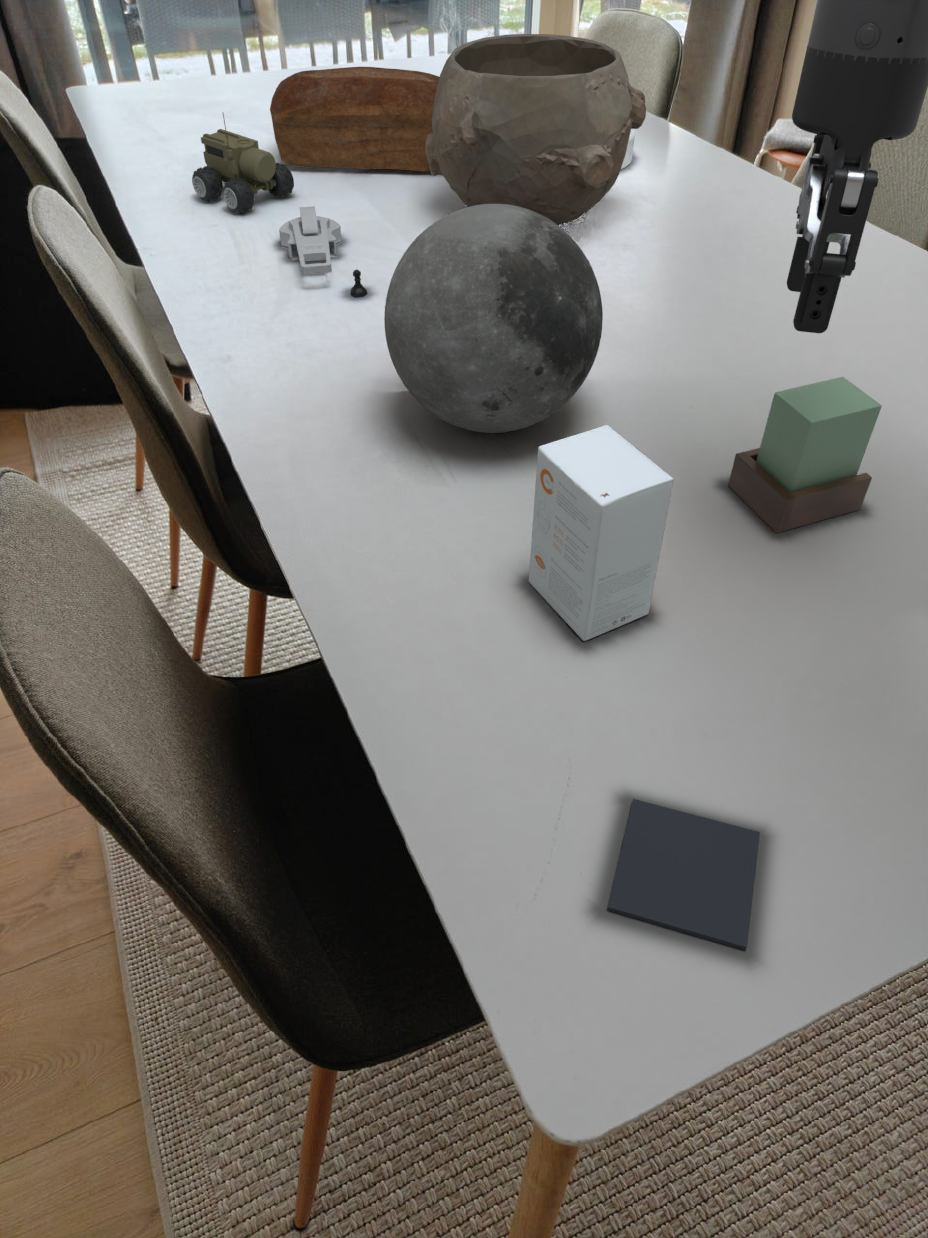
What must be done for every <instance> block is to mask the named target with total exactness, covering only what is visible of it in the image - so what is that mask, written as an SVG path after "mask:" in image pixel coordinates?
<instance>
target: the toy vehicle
mask: <svg viewBox="0 0 928 1238" xmlns="http://www.w3.org/2000/svg"><path fill="white" fill-rule="evenodd" d="M222 117H223V124H224V129H222V128H219V129H217V131H216V132H213V133H210V134H209V133H203V134H202V136H201V137H200V142H201V144H203V146H204V151H203V153H202V154H203V159H204V162H205V165H204V166H203V167H198V168H196V170H194V171H193V174H192V177H191V181H192V187H193V189H194V191H195V193H196V195H197V196H198V198H200V199H201V200H203V201H205V202H207V203H211V202H212V201H216V200H219V198H221V197H222V195H223V199H224V202H225V204H226V205H227V207H228V208H229V209H230V210H231V211H232V212H233V213H238V214H240V215H241V214H242V213H246V212H248V211H249V210H252V209H253V206H254V204H255V195H257V194H258V191H260V190H262V191H263V192H266V191H268V192H269V194H270V195H272V196H273V197H276V198H278V199H282V197H287V196H289V194H292V193H293V190H294V187H295V179H294V175H293V173H292V171H291V169H290V168H289V167H288V166H287V165H286V164H285V163H280V162H276V158H275V157H274V155H273V154H272V153H271V152H269V151H266V150H264V149H261V148H259V147H260V146H259V140H257V139H253V138H250V137H247V136H245V135H241V134H238V133H235V132H233V131H228V130H227V127H226V126H227V125H226V121H225V114H224V113H222ZM223 183H224V185H223Z"/></svg>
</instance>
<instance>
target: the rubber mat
mask: <svg viewBox="0 0 928 1238" xmlns="http://www.w3.org/2000/svg"><path fill="white" fill-rule="evenodd" d="M759 842H760V831H758V830H755V829H750V828H746V827H743V826H739V825H735V824H732V823H727V822H723V821H719V820H715V819H713V818H712V819H711V818H709V817H705V816H701V815H697V814H693V813H690V812H685V811H681V810H679V809H678V810H677V809H674V808H670V807H667V806H662V805H659V804H655V803H651V802H647V801H643V800H639V799H635V798H633V799H632V802H631V806H630V809H629V815H628V819H627V824H626V828H625V832H624V836H623V840H622V844H621V849H620V853H619V858H618V862H617V866H616V871H615V875H614V879H613V883H612V887H611V891H610V897H609V900H608V905H607V911H609V912H613V913H616V914H619V915H623V916H627V917H629V918H633V919H636V920H640V921H643V922H647V923H649V924H654V925H656V926H661V927H664V928H667V929H670V930H674V931H678V932H681V933H684V934H687V935H691V936H695V937H698V938H702V939H705V940H708V941H712V942H715V943H719V944H722V945H726V946H729V947H732V948H736V949H740V950H743V951H746V950H747V946H748V939H749V931H750V923H751V922H750V921H751V914H752V904H753V894H754V888H755V887H754V886H755V877H756V869H757V860H758V853H759V852H758V851H759V844H760V843H759Z"/></svg>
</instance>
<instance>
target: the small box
mask: <svg viewBox="0 0 928 1238" xmlns="http://www.w3.org/2000/svg"><path fill="white" fill-rule="evenodd" d="M674 480H675V479H674V477H673V476H672V475H670V474H669V473H668V472H666V471H665V470H664V469H663V468H661V466H659V465H658V464H656V463H655V462H654V461H653V460H652V459H650V458H649V457H648V456H647V455H645V453H643V452H642V451H641V450H639V449H638V448H637V447H636V446H634V445H633V444H632V443H630V442H629V441H628V440H627V439H626V438H624V437H623V436H622V435H621V434H620V433H618V432H617V431H615V429H614V428H612V427H611V426H610V425H608V424H605V425H601V426H599V427H596V428H593V429H589V430H586V431H583V432H580V433H577V434H574V435H571V436H567V437H565V438H561V439H558V440H554V441H551V442H548V443H546V444H545V443H544V444H542V445H538V447H537V461H536V474H535V488H534V501H533V512H532V513H533V514H532V515H533V516H532V529H531V541H530V557H529V571H528V583H529V584H530V585H532V587H533V588H534V589H535V590H536V591H537V593H538V594H539V595H540V596H541V597H542V598H543V599H544V600H545V602H547V603H548V604H549V605H550V607H551V608H552V609H553V610H554V611H555V612H556V613H557V615H558V616H560V617H561V618H562V620H563V621H564V622H565V623H566V624H567V625H568V627H570V628H571V629H572V630H573V632H574V633H575V634H576V635H577V636H578V637H579V638H580V639H581V640H582V641H583V642H586V641H588V640H591V639H593V638H596V637H598V636H601V635H603V634H605V633H607V632H609V631H612V630H614V629H617V628H620V627H622V626H624V625H626V624H629V623H630V622H633V621H635V620H638V619H641V618H642V617H645V616H647V615H649V613H650V609H651V602H652V599H653V592H654V587H655V581H656V578H657V572H658V566H659V561H660V555H661V550H662V545H663V540H664V534H665V528H666V523H667V517H668V512H669V508H670V507H669V506H670V502H671V496H672V491H673V487H674Z"/></svg>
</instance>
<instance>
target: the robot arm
mask: <svg viewBox="0 0 928 1238" xmlns="http://www.w3.org/2000/svg"><path fill="white" fill-rule="evenodd" d="M811 22H812V23H811V28H810V32H809V36H808V41H807V45H806V50H805V54H804V59H803V62H802V63H803V64H802V68H801V73H800V77H799V81H798V85H797V91H796V95H795V99H794V104H793V108H792V113H791V120H792V122H793V124H794V126H795V127H797V128H798V129H800V130H802V131H804V132H807V133H811V134H814V136H813V143H812V144H813V148H812V152H811V156H808V158H807V160H806V161H807V162H806V165H805V169H804V176H803V185H802V188H801V190H800V194H799V198H798V205H797V207H796V211H795V214H797V215H796V219H798V220H797V221H796V224H795V229H796V235H801V236H797V238H796V241H795V245H794V250H793V253H792V254H793V255H792V258H791V261H790V267H789V270H788V275H787V279H786V288H787V289H788V291H790V292H795V293H799V295H798V300H797V304H796V307H795V312H794V316H793V319H792V323H793V327H794V330H796V331H797V332H802V333H812V334H823V333H825V332H826V331H827V330H828V328H829V325H830V321H831V318H832V314H833V310H834V308H835V304H836V299H837V297H838V292H839V289H840V285H841V281H842V279H844V278H845V277H850V276H852V273H853V271H854V270H855V269H856V265H857V261H856V259H857V257H858V253H859V249H860V245H861V241H862V238H863V234H864V230H865V226H866V223H867V219H868V215H869V211H870V208H871V204H872V201H873V197H874V193H875V189H876V188H877V187H878V185H879V177H878V176H879V172H878V171H877V169H873V168H872V161H871V158H872V151H873V150H872V149H873V147H874V145H875V143H877V142H879V141H881V140H886V141H895V140H896V141H897V140H901V139H904V138H906V137H909V136H911V135H912V133H913V132H914V131H915V129H916V128H917V125H918V122H919V119H920V115H921V111H922V108H923V105H924V101H925V98H926V95H927V91H928V0H816V4H815V9H814V14H813V18H812V21H811ZM830 243H836V244H838V245H839V246H840V247H839V253H832V252H828V251H829V247H830Z"/></svg>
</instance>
